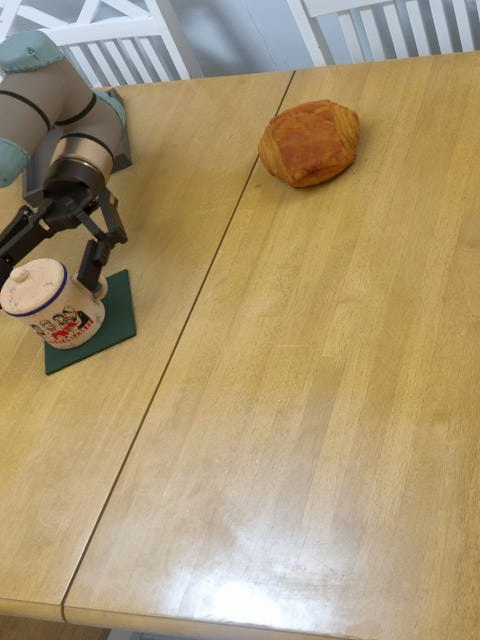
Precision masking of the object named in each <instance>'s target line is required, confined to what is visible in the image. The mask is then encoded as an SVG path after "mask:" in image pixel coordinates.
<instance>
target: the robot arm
mask: <svg viewBox="0 0 480 640" xmlns="http://www.w3.org/2000/svg"><path fill="white" fill-rule="evenodd" d="M0 69H1V71H2V72H3V73H5V76H4V78H3V79H2V80H1V81H0V189H5V188H8V187H10V186H11V185H12V184H14V182H15V181H16V180H17V178H18V177H19V176H20V175H22V171H23V170H24V169H25V168H26V167H27V166H28V164H29V163H30V160H31V158H32V156H33V155H34V153H35V152H36V150H37V148H38V147H39V145H40V144H41V142H42V140H43V139H44V137H45V136H46V135H47V133H48V132H49V131H50V129H51V128H52V126H53V125H54V126H55V128H56V129H57V130H58V131H59V132H60V134H61V135H60V138H59V141H58V144H57V147H56V149H55V152H54V154H53V157H52V159H51V162H50V167H49V169H48V171H47V174H46V176H45V179H44V182H43V185H42V189H43V195H44V200H43V202H42V203H41V204H40V205H39V206H37V207H35V208H32V207H31V206H30V205H28V204H27V203H26V204H25V203H24V204H22V205H20V207H19V208H18V210H17V212H16V214H15V216H14V218H12V219H11V221H10V222H9V223H8V224H7V225H6V226H5V228H4V229H3V230H2V231H1V232H0V293H1V290H2V287H3V286H4V284H5V282H6V281H7V279H8V278H9V277H10V274H11V272H12V271H13V270H14V269H15V266H16V265H18V264H19V263H20V262H21V261H22V260H23V259H24V258H26V257H27V256H28V255H29V254H30V253H32V251H33V250H34V249H36V248H37V247H38V246H39V245H40V244H41V243H42V242H44V241H45V240H47V239H48V240H49V239H52V238H53V237H54V236H55V235H57V234H58V233H62V232H64V231H66V230H75V229H77V228H78V227H79V226H81V225H83V226H84V227H85V229H87V231H88V232H89V233H90V234H91V236H93V237H94V238H92V239H88V240H87V243H86V245H85V249H84V252H83V255H82V259H81V262H80V265H79V269H78V271H77V273H78V275H77V278H76V279H77V280H78V281H79V282H80V283H81V284H82V285H83V286H84V287H86V288H87V289H88V290H89V291H90V292H92V291H96V288H97V284H98V281H99V277H100V274H101V275H102V270H103V267H106V265H107V264H108V262H109V257H110V254H111V251H112V250H114V248H115V247H116V245H117V244H120V245H126V243H128V241H129V238H128V234H127V232H126V228H125V227H124V224H123V220H122V219H121V216H120V214H119V211H118V207H119V199H118V198H117V197H116V195H114V193H113V192H112V191H111V190H110V189H109V188H108V182H109V179H110V177H111V174H112V173H111V170H112V167H113V163H114V160H115V157H116V154H117V151H118V148H119V145H120V142H121V140H122V138H123V136H124V126H125V121H127V120H126V119H127V116H126V112H125V108H124V109H123V107H124V106H123V107H122V105H121V104H120V103H119V102H118V101H117V100H116V99H114V98H112V97H110V96H109V95H108V94H107V93H105V91H102V90H99V89H91V88H90V86H89V85H88V84H87V82H86V81H85V80H84V79H83V78H82V76H81V75H80V74H79V72H78V70H76V68H75V67H74V66H73V64H72V63H71V61H70V60H69V59H68V58H67V55H66V54H65V53H64V52H63V51H62V50H61V49H60V47H59V46H58V45H57V44H56V43H55V42H54V40H52V38H50V37H49V36H48V35H47V33H45V32H44V31H42V30H39V29H33V28H31V29H23V30H20V31H18V32H15V33H12V34H11V35H10V36H8V37H6V38H5V39H4V40H3V41H1V43H0ZM110 173H111V174H110ZM98 209H100V211H101V214H102V217H103V219H104V222H105V225H106V228H107V230H108V231H106V232H104V231H103V230H102V229H101V228H100V227H99V226H98V224H97V223H96V222H95V221H94V220H93V218H91V217H90V216H91V215H92V214H93V213H94V212H96V211H98ZM41 221H42V222H43V223H44V225H46V226H47V227H48V228H47V229H46V228H45V227H44V226H43V225H42V224H41V223H40V222H41ZM0 310H3V308H2V306H1V303H0Z"/></svg>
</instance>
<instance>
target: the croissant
mask: <svg viewBox="0 0 480 640" xmlns="http://www.w3.org/2000/svg"><path fill="white" fill-rule="evenodd" d="M360 123H361V122H360V118H359V115H358V114H357V112H355V111H354V110H352V109H350V108H349V107H347V106H345V105H342V104H339V103H337V102H333V101H331V100H330V99H320V100H313V101H308V102H304V103H303V102H302V103H299V104H297V105H295V106H293V107H290V108H287V109H285V110H283V111H282V112H281V113H278V114H277V115H275V116H273V117H271V119H270V120H269V121H268V125H267V126H266V127H265V129H264V132H263V134H262V137H261V138H260V140H259V142H258V145H257V152H258V156H259V158H260V161H261V163H262V164H263V167H264V168H265V169H266V170H267V172H268V173H269V175H271V176H273V177H277V178H280V179H282V180H283V181H284V182H285V183H286V184H288V186H289V187H290V188H304V187H310V186H313V185H314V186H315V185H318V184H319V183H322V182H325V181H328V180H330V179H332V178H334V177H335V176H337V175H338V174H340V173H341V172H343V170H345V169H346V168H347V167H349V166H350V165H351V164H352V163H353V162H354V161H355V160H356V159H357V151H356V148H355V147H357V146H358V143H359V139H360V136H361V133H360V125H361V124H360Z"/></svg>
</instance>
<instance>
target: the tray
mask: <svg viewBox="0 0 480 640" xmlns="http://www.w3.org/2000/svg"><path fill="white" fill-rule="evenodd" d="M104 92H105V93H107V94H108V95H109V96H110V97H112V98H114V99H116V100H117V101H118V102H119V103H120V104H121V105H122V107H123V109H124V110H125V107H124V101H123V98H122V96H121V95H120V94H119V92H118V91H117V89H116V88H115V87H111V88H110V89H107V90H106V91H104ZM126 121H127V120H126ZM126 121H125V126H124V136H123V138H122V140H121V142H120V145H119V148H118V151H117V154H116V157H115V160H114V163H113V167H112V170H111V173H110V175H111V174H113V173H116V172H117V171H120V170H122V169H125V168H127V167H129V166H131V165H133V157H132V152H131V144H130V139H129V138H130V137H129V133H128V127H127V122H126ZM60 135H61V134H60V132H59V131H58V130H57V129H56V128H55V126H54V125H53V126H52V128H51V129H50V131H49V132H48V133H47V135H46V136H45V137H44V139H43V140H42V142H41V144H40V145H39V147H38V148H37V150H36V152H35V153H34V155H33V156H32V158H31V160H30V163H29V164H28V166H27V167H26V168H25V169H24V170H23V171H22V172H21V195H22V197H21V198H22V199H23V200H24V201H25V202H26V204H27V205H28V206H29V207H30V208H38V206H39V205H40V204H41V203H42V202H43V200H44V195H43V189H42V185H43V182H44V179H45V176H46V174H47V171H48V169H49V167H50V162H51V159H52V157H53V154H54V152H55V149H56V147H57V144H58V141H59V138H60Z"/></svg>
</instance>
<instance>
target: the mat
mask: <svg viewBox="0 0 480 640" xmlns="http://www.w3.org/2000/svg"><path fill="white" fill-rule="evenodd" d="M129 277H130V276H129V272H128V269H127V268H124V269H121V270H119V271H118V272H117V271H116V273H113V274H111V275H109V276H106V277H104V278H105V279H106V281H107V285H108V291H107V294H106V295H105V296H104V297H103V298H102V299H101V300H100V301H101V302H102V304H103V305H104V308H105V317H104V320H103V323H102V325H101V327H100V328H99V330H98V331H97V332H96V333H95V334H94V335H93V336H92V337H91V338H90V339H89V340H87V341H86V342H84V343H83V344H81V345H79V346H76V347H74V348H69V349H59V348H55V347H53V346H52V345H51V344H49V343H48V342H47V341H45V340H44V339H43V343H44V345H43V346H44V347H43V348H44V372H45V373H44V374H45V376H50V375H52V374H54V373H56V372H59V371H61V370H63V369H65V368H67V367H70V366H72V365H75V364H76V363H79V362H81V361H84V360H85V359H87V358H89V357H91V356H94V355H96V354H98V353H101V352H103V351H104V350H107V349H110V348H111V347H114V346H116V345H118V344H120V343H122V342H125V341H127V340H129V339H131V338H133V337H136V336H137V331H136V323H135V316H134V308H133V300H132V299H133V298H132V293H131V286H130V278H129ZM101 287H102V285H101V283H100V282H99V281H98V284H97V288H96V291H92V292H91V293H92V294H95V293H97V292H98V291H99V290H100V289H101Z"/></svg>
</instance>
